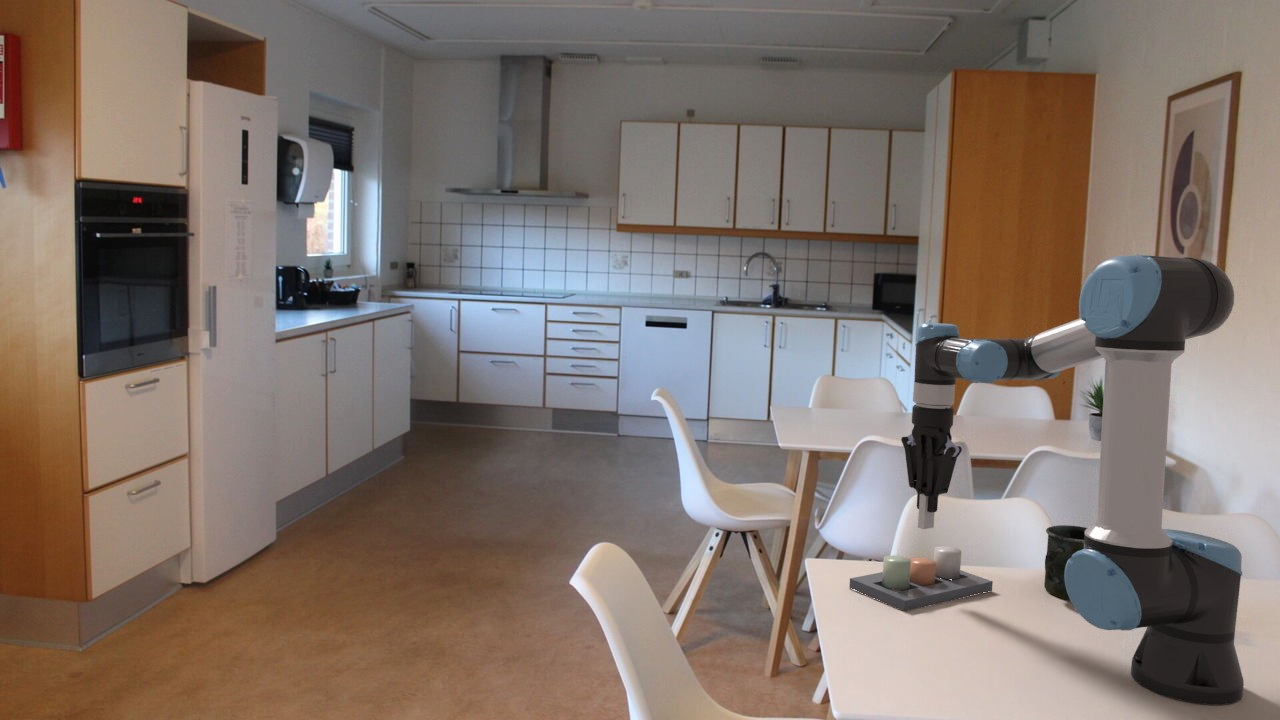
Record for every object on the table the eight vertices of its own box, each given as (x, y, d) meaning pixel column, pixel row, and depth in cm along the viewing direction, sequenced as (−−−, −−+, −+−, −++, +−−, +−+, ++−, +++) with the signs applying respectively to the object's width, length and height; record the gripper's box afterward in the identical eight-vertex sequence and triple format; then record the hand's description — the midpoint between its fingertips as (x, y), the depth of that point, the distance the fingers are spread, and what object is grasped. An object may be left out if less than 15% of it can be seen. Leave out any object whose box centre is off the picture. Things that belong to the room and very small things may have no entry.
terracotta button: (940, 588, 195) (941, 563, 195) (922, 592, 193) (923, 566, 192) (920, 581, 200) (921, 556, 199) (902, 584, 197) (903, 559, 196)
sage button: (915, 587, 191) (916, 561, 191) (896, 591, 189) (897, 564, 188) (895, 579, 196) (896, 554, 195) (876, 583, 193) (878, 557, 192)
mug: (1114, 596, 196) (1119, 535, 195) (1072, 610, 188) (1077, 546, 187) (1062, 580, 205) (1067, 522, 204) (1019, 593, 197) (1024, 532, 195)
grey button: (965, 576, 199) (966, 551, 198) (947, 580, 196) (949, 555, 196) (945, 569, 203) (946, 544, 203) (927, 572, 200) (929, 548, 200)
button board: (991, 591, 197) (992, 581, 197) (904, 611, 184) (904, 600, 184) (935, 571, 208) (936, 561, 208) (849, 588, 196) (849, 578, 195)
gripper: (974, 409, 189) (966, 533, 191) (920, 399, 200) (913, 517, 202) (947, 411, 185) (939, 538, 187) (893, 401, 196) (886, 521, 198)
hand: (925, 527), depth 195 cm, fingers closed
